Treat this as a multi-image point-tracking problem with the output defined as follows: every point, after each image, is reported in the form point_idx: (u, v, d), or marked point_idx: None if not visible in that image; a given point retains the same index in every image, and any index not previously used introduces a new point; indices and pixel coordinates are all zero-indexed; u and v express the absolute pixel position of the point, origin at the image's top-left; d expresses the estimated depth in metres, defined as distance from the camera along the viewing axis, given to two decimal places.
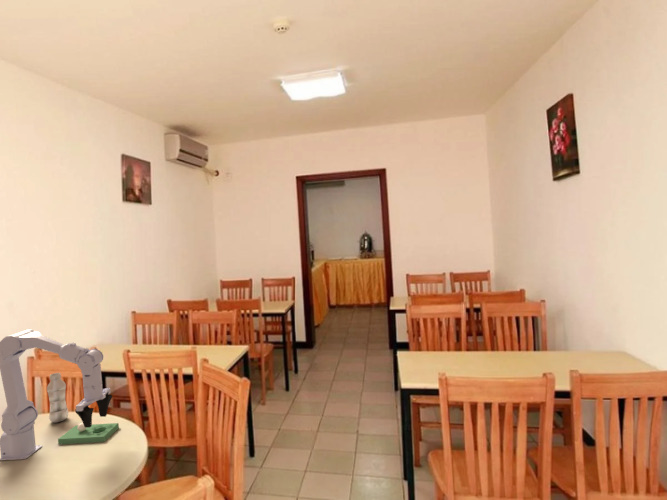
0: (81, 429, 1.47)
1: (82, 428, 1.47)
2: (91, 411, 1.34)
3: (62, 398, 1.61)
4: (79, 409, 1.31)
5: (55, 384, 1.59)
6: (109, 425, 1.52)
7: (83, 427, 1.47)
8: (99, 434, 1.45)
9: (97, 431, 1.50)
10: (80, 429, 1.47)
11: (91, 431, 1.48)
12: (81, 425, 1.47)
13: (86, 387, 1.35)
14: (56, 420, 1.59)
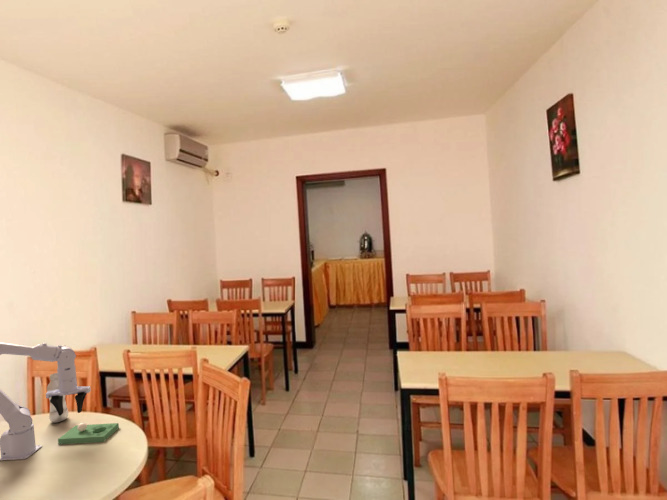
0: (81, 429, 1.47)
1: (82, 428, 1.47)
2: (54, 402, 1.44)
3: None
4: None
5: (55, 384, 1.59)
6: (109, 425, 1.52)
7: (83, 427, 1.47)
8: (99, 434, 1.45)
9: (97, 431, 1.50)
10: (80, 429, 1.47)
11: (91, 431, 1.48)
12: (81, 425, 1.47)
13: None
14: (56, 420, 1.59)
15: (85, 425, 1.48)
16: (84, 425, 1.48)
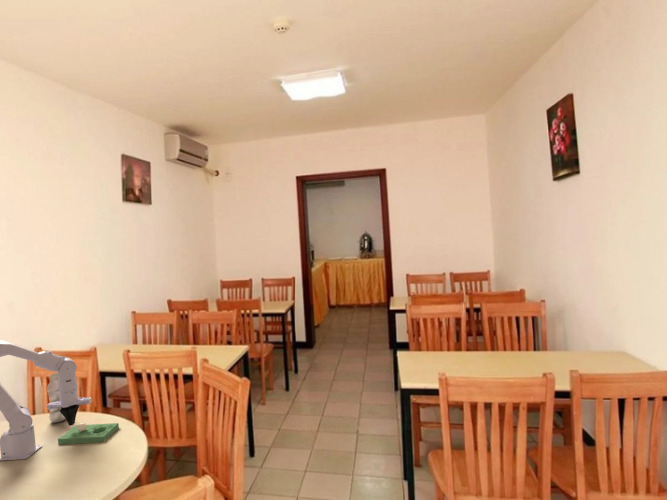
0: (81, 429, 1.47)
1: (82, 428, 1.47)
2: (64, 412, 1.45)
3: None
4: None
5: (55, 384, 1.59)
6: (109, 425, 1.52)
7: (83, 427, 1.47)
8: (99, 434, 1.45)
9: (97, 431, 1.50)
10: (80, 429, 1.47)
11: (91, 431, 1.48)
12: (81, 425, 1.47)
13: None
14: (56, 420, 1.59)
15: (85, 425, 1.48)
16: (84, 425, 1.48)
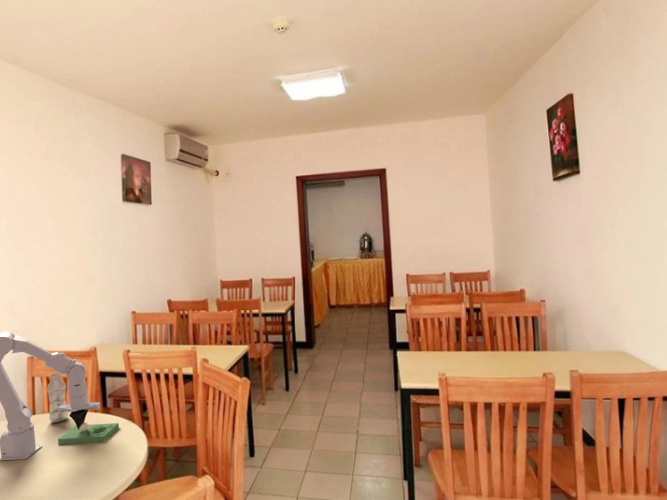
0: (83, 430, 1.47)
1: (84, 429, 1.47)
2: (73, 416, 1.45)
3: (62, 398, 1.61)
4: None
5: (55, 384, 1.59)
6: (109, 425, 1.52)
7: (85, 429, 1.47)
8: (99, 434, 1.45)
9: (97, 431, 1.50)
10: (82, 430, 1.47)
11: (91, 431, 1.48)
12: (84, 426, 1.47)
13: None
14: (56, 420, 1.59)
15: (87, 427, 1.48)
16: (87, 427, 1.48)
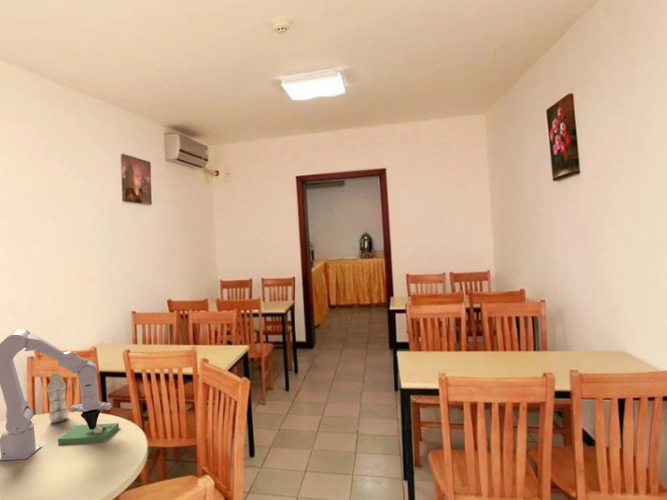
0: (94, 432, 1.47)
1: (93, 432, 1.47)
2: (84, 416, 1.45)
3: (62, 398, 1.61)
4: None
5: (55, 384, 1.59)
6: (109, 425, 1.52)
7: (93, 432, 1.47)
8: (99, 434, 1.45)
9: None
10: (94, 432, 1.47)
11: (91, 431, 1.48)
12: None
13: None
14: (56, 420, 1.59)
15: None
16: None
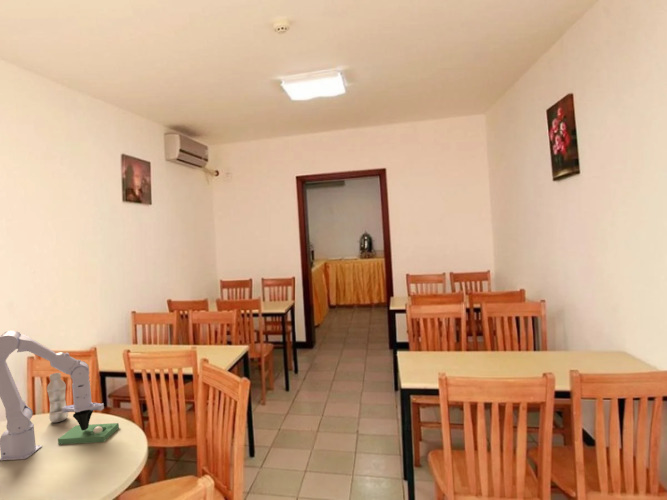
0: (94, 432, 1.47)
1: (93, 432, 1.47)
2: (77, 417, 1.45)
3: (62, 398, 1.61)
4: None
5: (55, 384, 1.59)
6: (109, 425, 1.52)
7: (93, 432, 1.47)
8: (99, 434, 1.45)
9: None
10: (95, 432, 1.47)
11: (91, 431, 1.48)
12: None
13: None
14: (56, 420, 1.59)
15: None
16: None
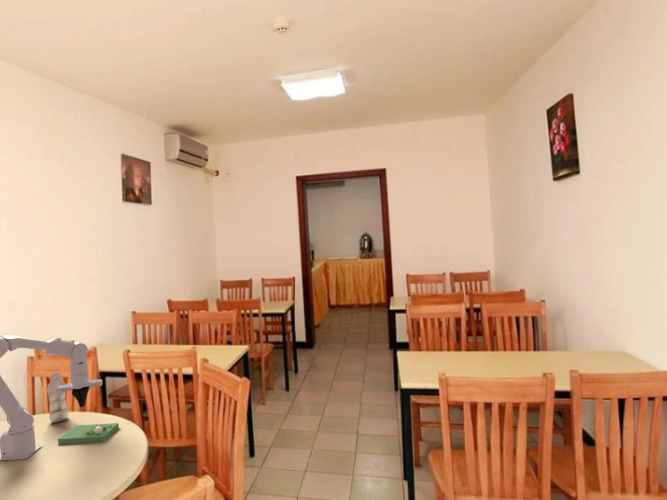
0: (94, 431, 1.47)
1: (94, 432, 1.47)
2: (76, 394, 1.49)
3: (62, 398, 1.61)
4: None
5: (55, 384, 1.59)
6: (109, 425, 1.52)
7: None
8: (99, 434, 1.45)
9: None
10: (95, 432, 1.47)
11: (91, 431, 1.48)
12: None
13: None
14: (56, 420, 1.59)
15: None
16: None
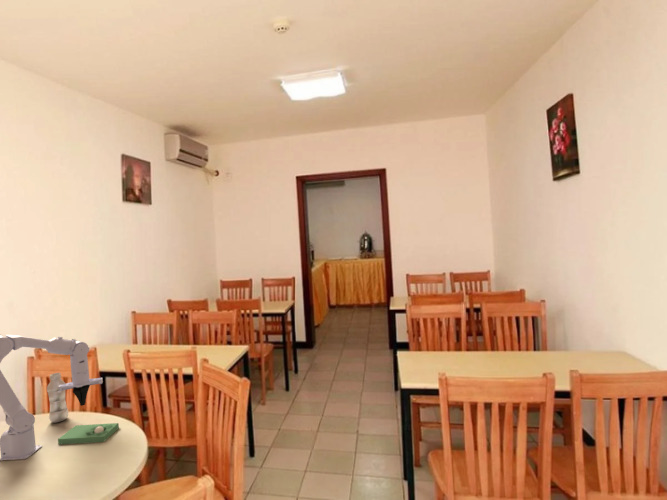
0: (95, 431, 1.47)
1: (94, 431, 1.47)
2: (77, 392, 1.51)
3: (62, 398, 1.61)
4: None
5: (55, 384, 1.59)
6: (109, 425, 1.52)
7: (94, 431, 1.47)
8: (99, 434, 1.45)
9: None
10: (96, 432, 1.47)
11: (91, 431, 1.48)
12: None
13: None
14: (56, 420, 1.59)
15: None
16: None
